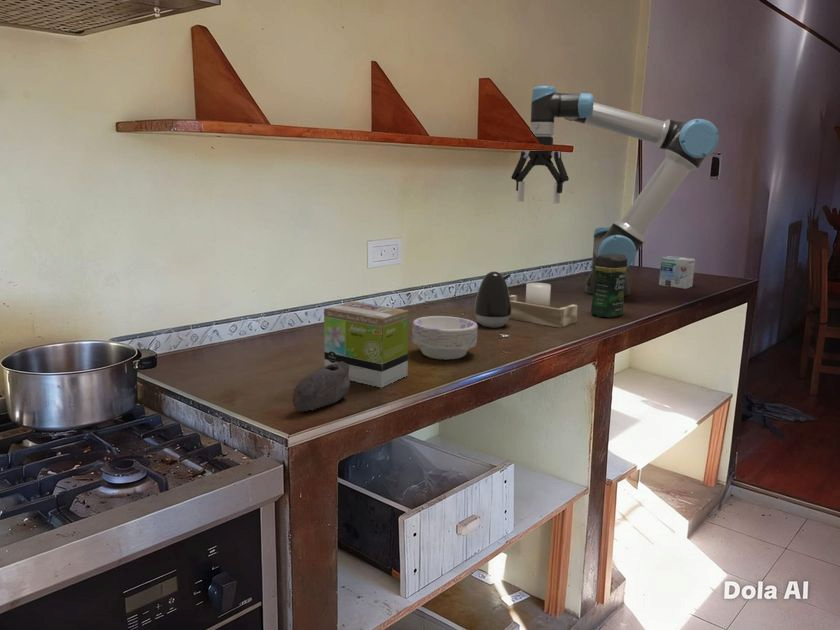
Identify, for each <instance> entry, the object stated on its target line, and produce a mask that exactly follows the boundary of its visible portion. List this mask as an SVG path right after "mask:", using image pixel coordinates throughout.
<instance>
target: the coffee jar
mask: <svg viewBox="0 0 840 630" xmlns="http://www.w3.org/2000/svg"><path fill="white" fill-rule="evenodd" d="M627 269H628V267H627V258H626V256H625V255H620V254H606V255H599V256H598V257H597V258H596V262H595V285H594V293H593V294H592V299H591V300H592V301H591V308H590V309H591V310H590V313H591V314H592V315H594V316H596V317H599V318H602V317H606V318H615V317H619V316H622V315H623V314H624V307H625V306H624V304H625V303H624V302H625V300H624V297H625V296H624V280H625V274H626V275H627V271H628V270H627Z"/></svg>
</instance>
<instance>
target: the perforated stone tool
mask: <svg viewBox="0 0 840 630" xmlns="http://www.w3.org/2000/svg"><path fill="white" fill-rule="evenodd" d="M350 387H351V381H350V379H349V365H348V364H347V363H345V362H343V361H341V362H337V363H334V364H331V365H327V366H325V365H324V366H322V367H320V368H319V369H316V370H314V371H313V372H311V373H310V374H308V375H307V376H306V377H305V378H303V379H302V380H301V381H299V383H298V384H296V387H295V388H294V391H293V394H292V404H293V407H294V409H296V410H297V411H299V412H304V411H306V410H311V409H315V410H317V409H316V408H318V409H320V408H319V407H322V406H325V407H327V406H326V405H328V406H330V405H329V404H331V403H333V404H336V403H337V402H338V401H340V400H342V399H343V398H345V397H347V396H348V392H349V390H350ZM331 405H332V404H331ZM322 408H323V407H322ZM306 412H307V411H306Z"/></svg>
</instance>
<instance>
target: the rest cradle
mask: <svg viewBox="0 0 840 630" xmlns="http://www.w3.org/2000/svg"><path fill="white" fill-rule="evenodd" d="M510 300H511V315H510V317H509V319H510V320H517V321H522V322H526V323H527V322H528V323H534V324H537V325H544V326H549V327H554V328H559V329H560V328H564V327H566V326H570V325H572V324H575V323H577V319H578V304H570V305H566V306H563V307H552V306H550V307H547V306H541V305H535V304H529V303H526V302H521V301H518V295H514V294H511V295H510Z"/></svg>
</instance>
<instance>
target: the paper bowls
mask: <svg viewBox="0 0 840 630" xmlns="http://www.w3.org/2000/svg"><path fill="white" fill-rule="evenodd" d="M478 328H479V326H478V324H477V322H476V321H473V320H471V319H467V318H462V317H457V316H456V317H455V316H450V315H449V316H448V315H447V316H446V315H430V316H423V317H418V318H416V319H414V320H413V322H412V328H411V329H412V330H411V334H412V335H411V339H412V341H411V342H412V343H413V344H414V345H416V346H418V347H419V349H420V351H421V353H422V354H423V355H424V356H426V357H428V358H431V359H434V360H435V359H436V360H442V359H443V360H442V361H445V360H446V361H447V360H450V359H451V360H457V359H460V358H464V357H465V356H466V355H467V354H468V351H469V349H473V348H474V347H475V346H477V344H478V343H477V341H478ZM451 360H450V361H451Z"/></svg>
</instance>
